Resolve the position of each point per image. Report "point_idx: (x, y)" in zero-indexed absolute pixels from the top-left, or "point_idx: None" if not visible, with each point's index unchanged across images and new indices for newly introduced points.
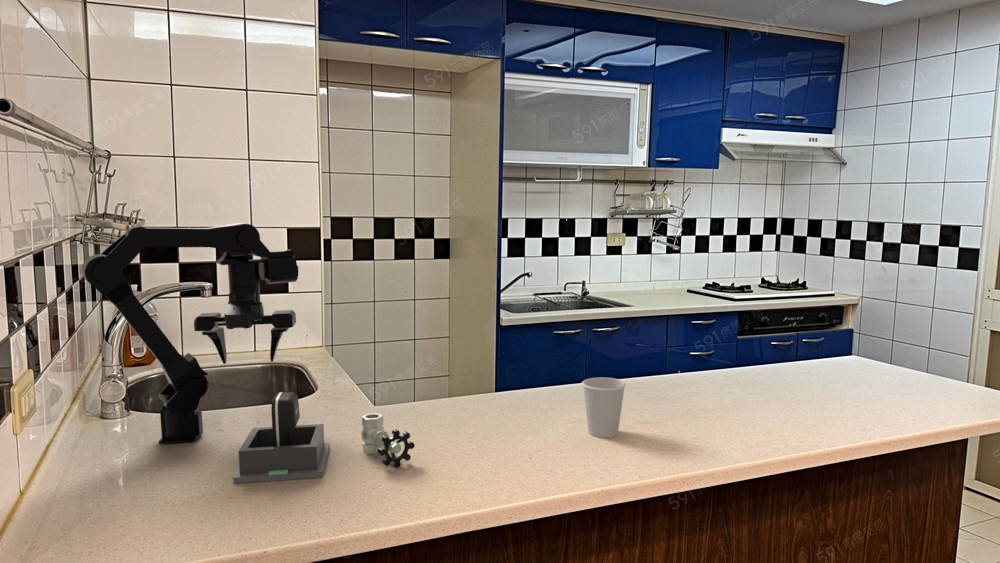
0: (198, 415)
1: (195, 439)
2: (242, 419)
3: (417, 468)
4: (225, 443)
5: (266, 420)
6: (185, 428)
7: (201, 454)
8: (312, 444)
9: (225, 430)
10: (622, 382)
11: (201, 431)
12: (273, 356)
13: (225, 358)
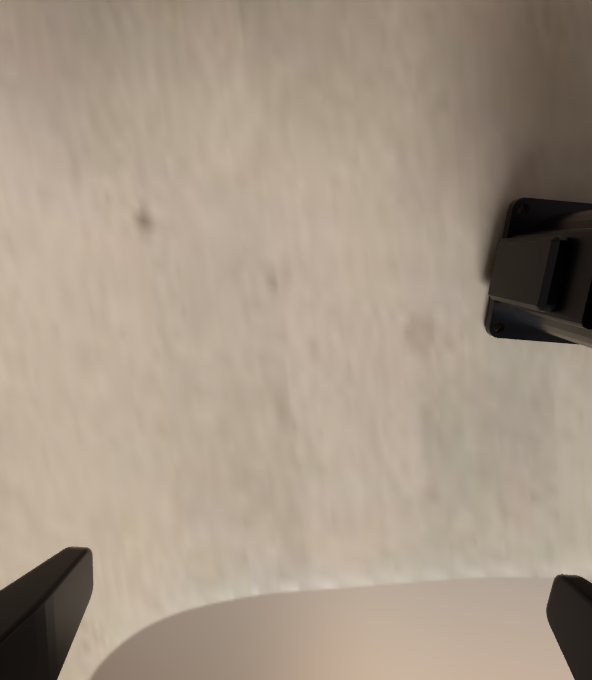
0: (551, 243)
1: (508, 215)
2: (346, 448)
3: None
4: (385, 152)
5: (251, 413)
6: (577, 217)
7: (470, 25)
8: None
9: (399, 327)
10: None
11: (494, 271)
12: (17, 582)
13: (589, 636)
